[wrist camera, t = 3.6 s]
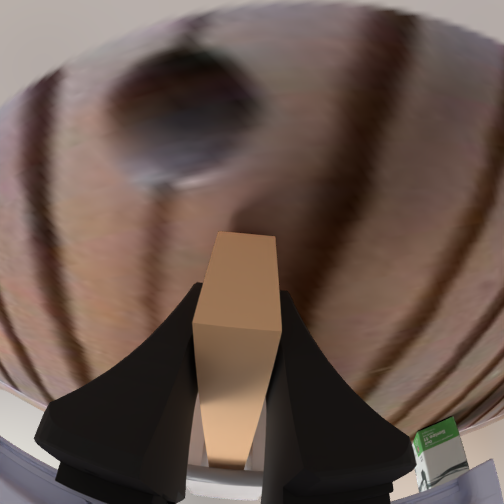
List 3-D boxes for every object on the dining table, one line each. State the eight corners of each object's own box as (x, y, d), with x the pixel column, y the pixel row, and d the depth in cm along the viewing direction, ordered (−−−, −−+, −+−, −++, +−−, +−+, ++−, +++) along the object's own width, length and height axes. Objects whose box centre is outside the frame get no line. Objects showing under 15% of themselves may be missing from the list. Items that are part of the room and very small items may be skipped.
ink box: (415, 430, 22) (435, 520, 12) (454, 414, 21) (478, 499, 11) (408, 449, 26) (422, 521, 16) (441, 436, 25) (458, 506, 15)
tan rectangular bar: (246, 411, 17) (243, 471, 13) (216, 408, 17) (209, 468, 13) (275, 236, 10) (282, 331, 6) (218, 231, 10) (192, 322, 6)
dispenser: (260, 435, 20) (258, 501, 15) (198, 429, 20) (189, 495, 15) (274, 392, 16) (275, 485, 11) (191, 384, 16) (174, 475, 11)
